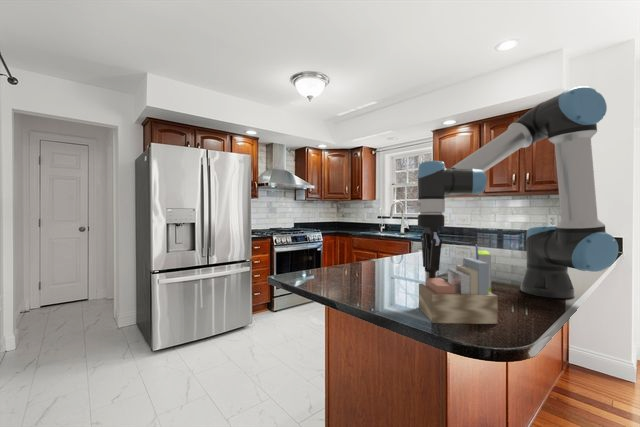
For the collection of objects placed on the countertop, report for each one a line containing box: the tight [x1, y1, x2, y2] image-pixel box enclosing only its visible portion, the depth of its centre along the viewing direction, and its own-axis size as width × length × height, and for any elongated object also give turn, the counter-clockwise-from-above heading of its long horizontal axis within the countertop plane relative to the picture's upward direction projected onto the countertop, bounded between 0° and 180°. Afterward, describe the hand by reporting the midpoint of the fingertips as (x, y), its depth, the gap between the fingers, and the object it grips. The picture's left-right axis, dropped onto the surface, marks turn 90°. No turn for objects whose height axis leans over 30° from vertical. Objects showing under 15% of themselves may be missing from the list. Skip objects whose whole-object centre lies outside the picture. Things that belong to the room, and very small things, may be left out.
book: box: [426, 277, 455, 294], centre depth 86 cm, size 4×10×9 cm, turn 179°
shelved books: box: [455, 257, 489, 295], centre depth 85 cm, size 4×10×15 cm, turn 178°
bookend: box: [447, 268, 470, 295], centre depth 85 cm, size 2×9×12 cm, turn 178°
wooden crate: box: [418, 283, 498, 325], centre depth 86 cm, size 16×13×7 cm
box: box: [475, 244, 492, 293], centre depth 102 cm, size 10×4×17 cm, turn 157°
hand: (430, 293), depth 94 cm, fingers closed
